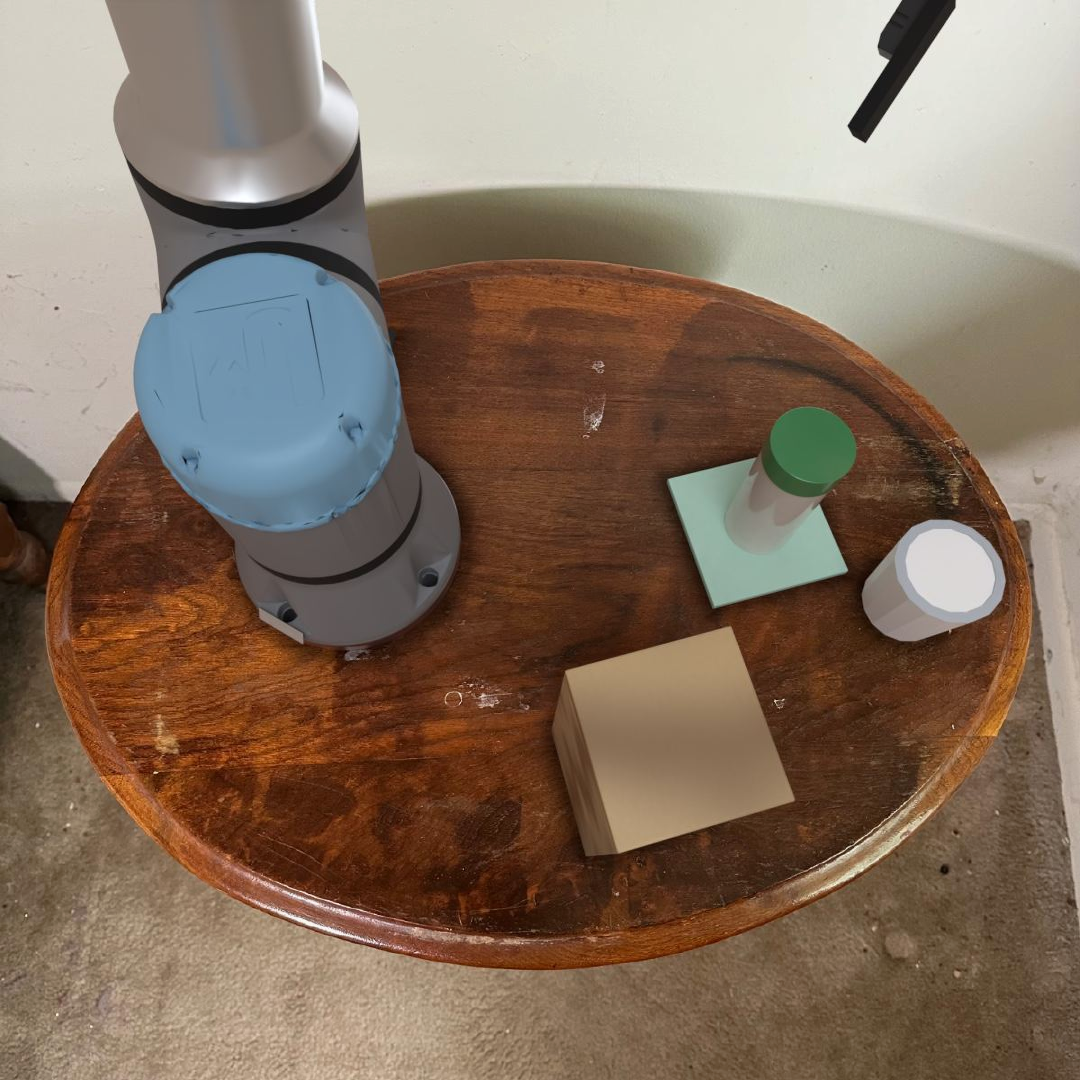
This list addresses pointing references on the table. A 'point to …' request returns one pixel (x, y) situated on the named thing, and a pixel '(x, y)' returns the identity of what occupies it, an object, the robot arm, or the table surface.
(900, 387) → the table surface
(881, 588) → the grey white cylinder
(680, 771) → the plinth
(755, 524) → the cylinder
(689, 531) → the mat
